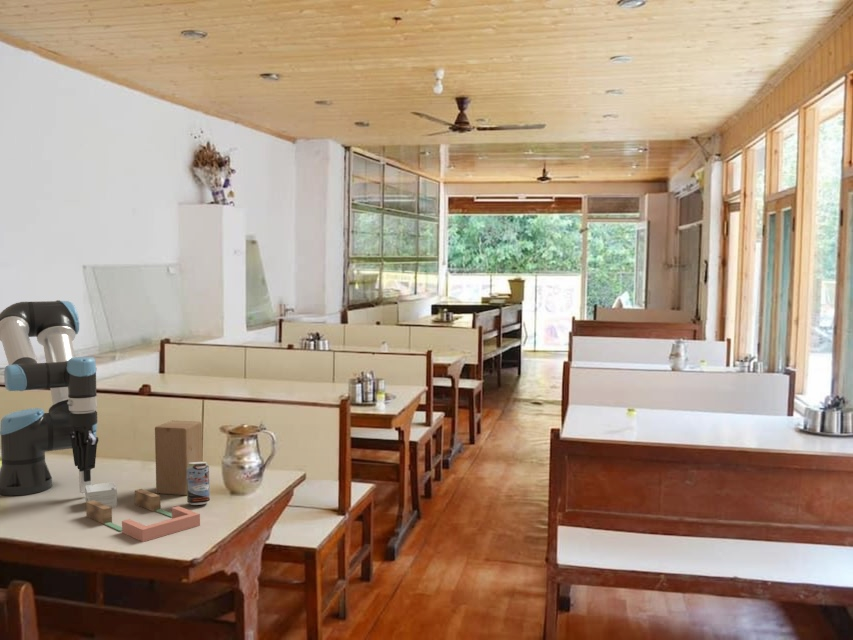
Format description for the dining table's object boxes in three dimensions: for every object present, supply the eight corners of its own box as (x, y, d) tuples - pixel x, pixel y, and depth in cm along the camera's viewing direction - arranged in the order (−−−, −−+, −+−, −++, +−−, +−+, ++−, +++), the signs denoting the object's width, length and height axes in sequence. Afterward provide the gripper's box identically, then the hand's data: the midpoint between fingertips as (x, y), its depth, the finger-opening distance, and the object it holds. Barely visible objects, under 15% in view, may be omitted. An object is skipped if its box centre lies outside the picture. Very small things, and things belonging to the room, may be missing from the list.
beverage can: (189, 509, 217) (188, 466, 217) (184, 501, 224) (183, 460, 223) (212, 505, 220) (212, 463, 220) (207, 498, 227) (206, 457, 226)
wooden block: (186, 495, 230) (185, 428, 228) (155, 493, 232) (154, 426, 230) (203, 486, 240) (202, 421, 238) (173, 484, 242) (171, 419, 240)
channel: (86, 516, 211) (85, 501, 211) (141, 502, 223) (141, 488, 223) (104, 524, 205) (104, 509, 204) (160, 510, 217) (160, 495, 216)
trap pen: (122, 532, 199) (121, 520, 198) (178, 517, 211) (178, 506, 211) (142, 541, 192) (142, 529, 192) (200, 525, 204) (199, 514, 204)
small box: (85, 502, 223) (84, 485, 223) (114, 499, 227) (114, 481, 227) (87, 510, 217) (86, 492, 216) (117, 506, 220) (117, 488, 220)
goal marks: (104, 524, 205) (104, 523, 205) (160, 510, 217) (160, 509, 217) (120, 531, 199) (120, 530, 199) (176, 516, 211) (176, 515, 211)
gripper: (59, 410, 228) (62, 490, 229) (80, 415, 219) (83, 499, 221) (85, 406, 233) (87, 484, 235) (106, 412, 225) (109, 493, 227)
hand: (85, 491), depth 228 cm, fingers closed
